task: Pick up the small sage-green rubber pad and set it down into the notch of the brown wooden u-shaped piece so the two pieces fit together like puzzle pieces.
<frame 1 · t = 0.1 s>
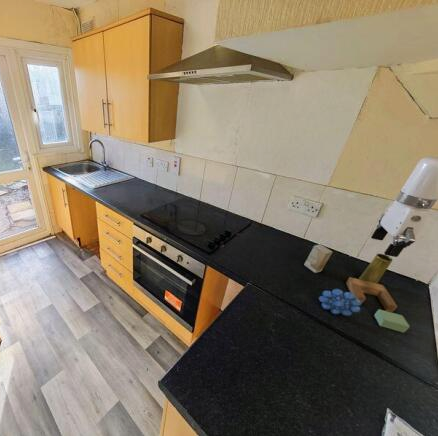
hand: (382, 246, 75), 30 cm above the table, tool pointing down, fingers open, 9 cm apart
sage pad: (388, 323, 84), on the table
vase: (367, 282, 103), on the table
grapes: (332, 311, 88), on the table
cosmetic box: (312, 268, 110), on the table
brown wooden u-shaped piece: (367, 296, 95), on the table
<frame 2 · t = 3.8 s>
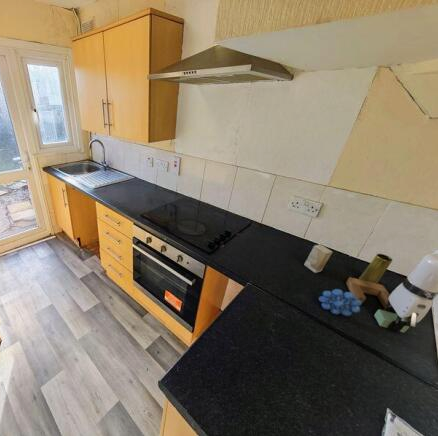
hand: (389, 322, 84), 1 cm above the table, tool pointing down, fingers closed on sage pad, 5 cm apart
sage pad: (388, 323, 84), on the table, touching gripper
everything else where it was.
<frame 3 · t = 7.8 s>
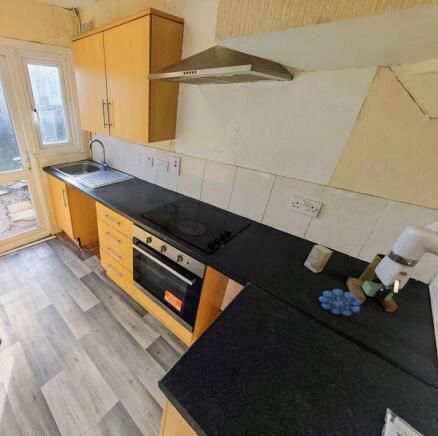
hand: (375, 292, 91), 5 cm above the table, tool pointing down, fingers closed on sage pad, 5 cm apart
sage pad: (374, 293, 91), point 4 cm above the table, touching gripper
everything else where it was.
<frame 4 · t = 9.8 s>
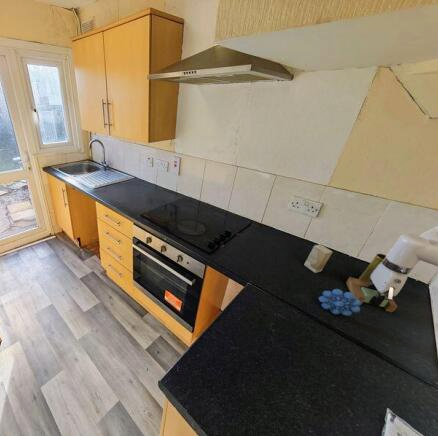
hand: (371, 298, 93), 1 cm above the table, tool pointing down, fingers closed on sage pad, 4 cm apart
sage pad: (370, 299, 93), point 1 cm above the table, touching gripper
everything else where it was.
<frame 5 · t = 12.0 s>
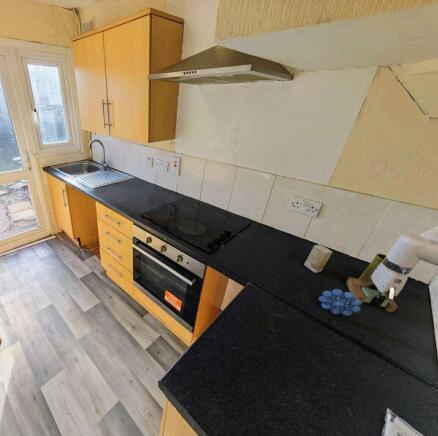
hand: (372, 298, 93), 1 cm above the table, tool pointing down, fingers closed on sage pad, 4 cm apart
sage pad: (371, 299, 93), point 1 cm above the table, touching gripper
everything else where it was.
when the fingers open (2 cm above the table, at t = 14.8 s): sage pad drops 1 cm, on the table.
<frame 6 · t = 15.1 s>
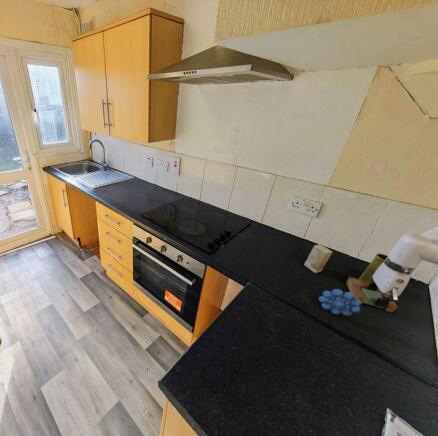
hand: (374, 298, 92), 2 cm above the table, tool pointing down, fingers open, 7 cm apart
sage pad: (370, 300, 93), on the table
everything else where it was.
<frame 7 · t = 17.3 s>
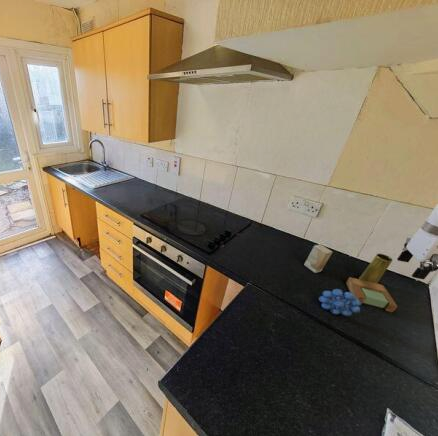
hand: (409, 269, 83), 19 cm above the table, tool pointing down, fingers open, 9 cm apart
nothing on the table moved.
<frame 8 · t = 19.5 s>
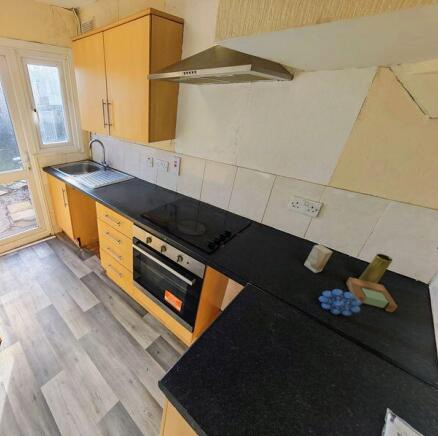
nothing on the table moved.
at the end: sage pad 0.3 cm from the target spot on the brown wooden u-shaped piece, point 0.0 cm above the brown wooden u-shaped piece's base; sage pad tilted 0°; the gripper is holding nothing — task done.
